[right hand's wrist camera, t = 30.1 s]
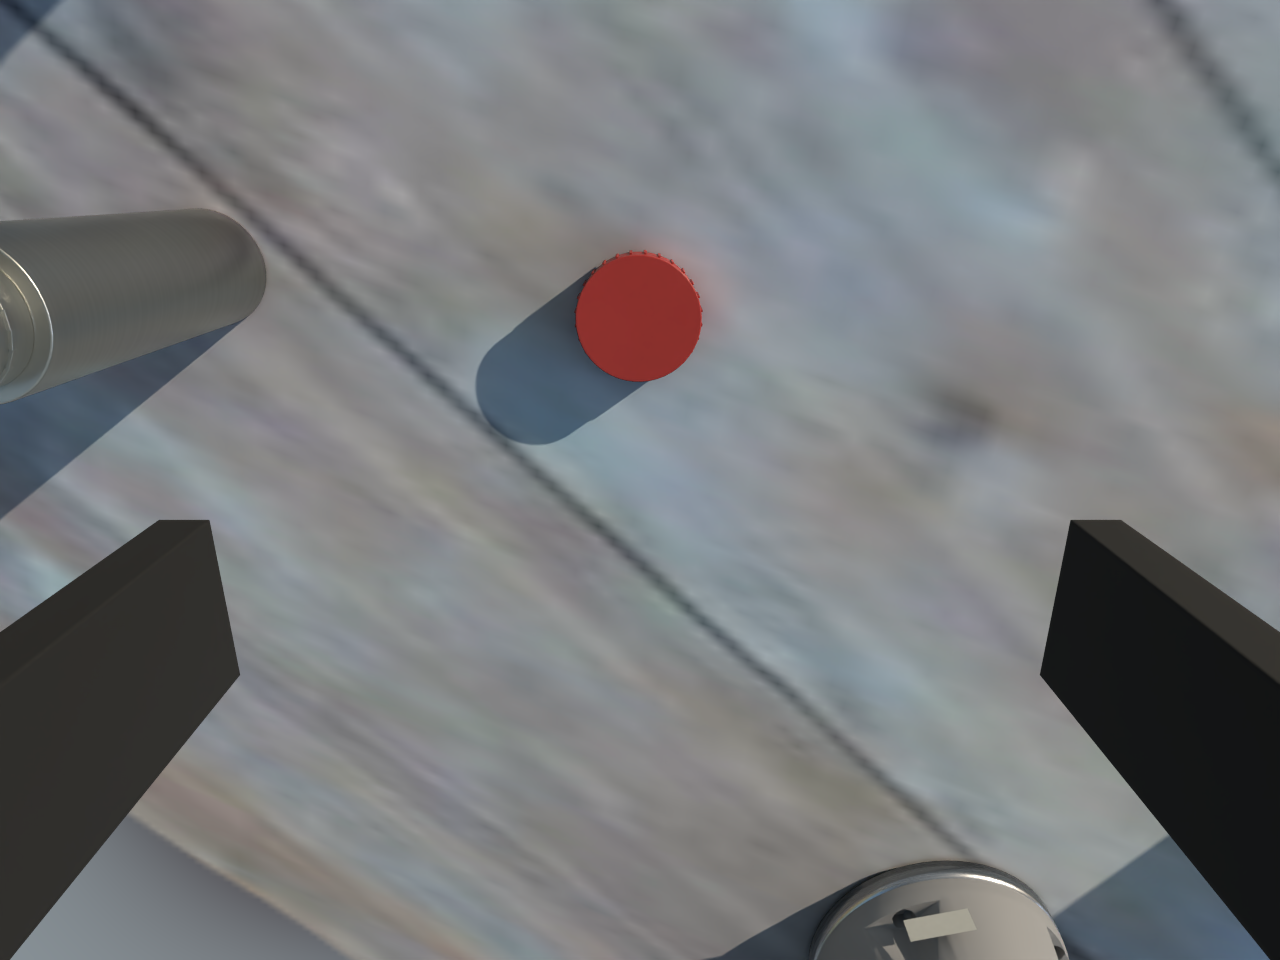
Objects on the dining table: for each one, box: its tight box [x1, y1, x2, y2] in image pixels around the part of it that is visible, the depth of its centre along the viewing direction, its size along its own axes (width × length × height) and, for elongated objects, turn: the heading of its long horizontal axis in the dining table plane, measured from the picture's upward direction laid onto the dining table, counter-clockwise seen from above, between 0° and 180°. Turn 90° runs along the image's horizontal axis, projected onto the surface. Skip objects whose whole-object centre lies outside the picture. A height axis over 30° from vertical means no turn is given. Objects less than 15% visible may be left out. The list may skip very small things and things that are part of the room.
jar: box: [0, 209, 266, 404], centre depth 29 cm, size 5×5×16 cm
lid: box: [575, 250, 703, 382], centre depth 36 cm, size 6×6×2 cm
